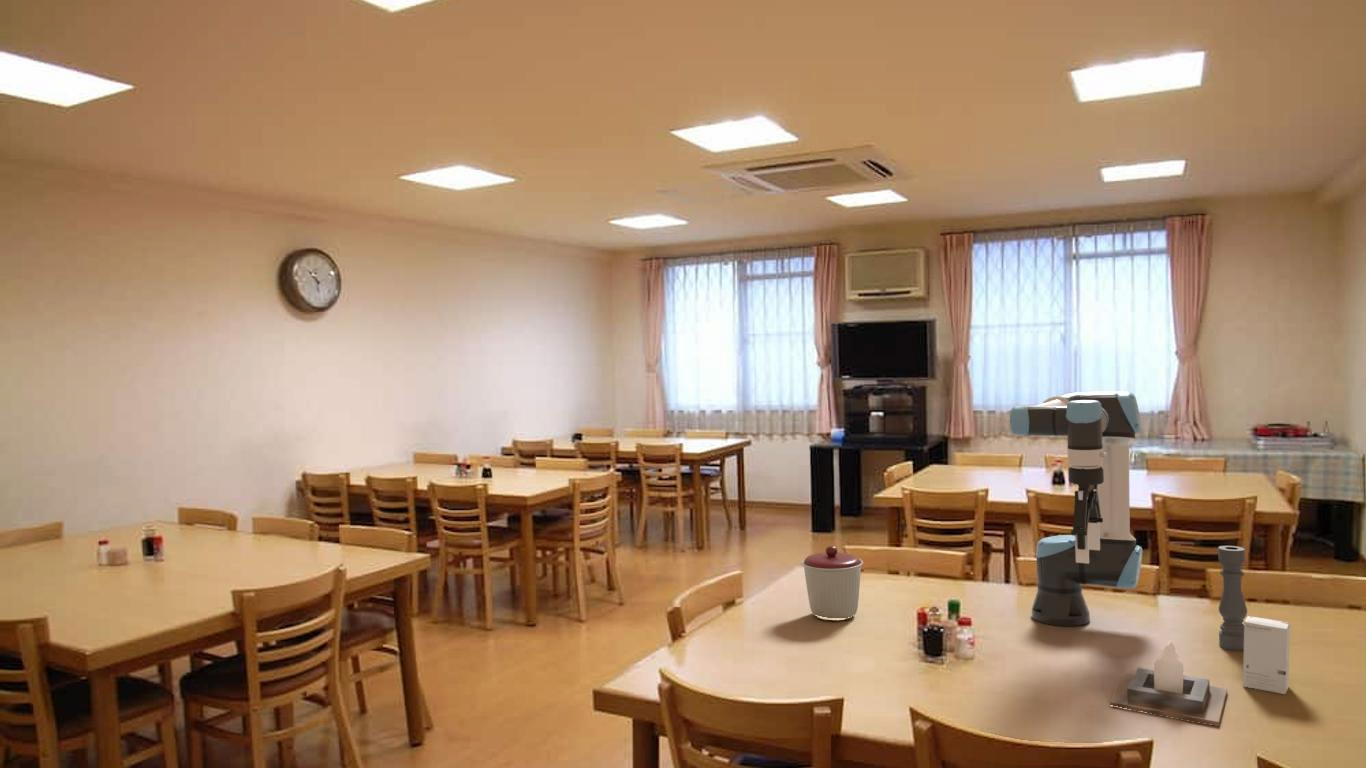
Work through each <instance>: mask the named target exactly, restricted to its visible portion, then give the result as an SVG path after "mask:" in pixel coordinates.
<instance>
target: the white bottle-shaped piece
mask: <svg viewBox="0 0 1366 768" xmlns="http://www.w3.org/2000/svg"><path fill="white" fill-rule="evenodd" d="M1153 670H1154V689H1157V690H1163V691H1169V692H1175V693H1181V694H1183V675H1184V665H1183V662H1182V660H1181V657H1180V656H1179V654H1178V653H1177V652H1176V647H1175V645H1174V643H1173V641H1171V640H1170V641H1169V642H1168V643H1166V644H1165V646H1164V647H1163V649H1161V650H1160V652H1159V653H1158V655H1157V656H1156V657H1155V660H1154V661H1153Z"/></svg>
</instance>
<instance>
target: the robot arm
mask: <svg viewBox="0 0 1366 768" xmlns="http://www.w3.org/2000/svg"><path fill="white" fill-rule="evenodd" d="M1138 405H1139V404H1138V401H1137V398H1136V396H1135V394H1134V393H1132V392H1131V391H1118V390H1117V391H1116V390H1115V391H1114V390H1113V391H1073V392H1068V393H1063V394H1059V395H1056V396H1052V397H1049V398H1047V399H1045V400H1044V401H1043V402H1042V403H1040V404H1037V405H1016V406H1013V407H1012V408H1011V410H1010V412H1009V427H1010V431H1011V433H1012V434H1013V435H1014V436H1022V437H1023V436H1024V437H1028V436H1029V437H1031V436H1033V437H1034V436H1035V437H1040V436H1042V437H1046V436H1047V437H1048V436H1049V437H1053V436H1055V437H1067V448H1066V449H1067V464H1068V465H1069V467H1068V469H1067V470H1068V471H1067V473H1068V474H1067V475H1068V476H1067V477H1068V482H1069V483H1070V484H1073V485H1077V486H1078V488H1077V490H1075V491H1074V509H1073V526H1072V530H1070V534H1063V535H1052V536H1048V537H1044V538H1041V539H1040V540H1039V541H1037V543H1036V552H1035V553H1036V554H1035V558H1036V579H1037V582H1036V583H1037V590H1036V591H1037V592H1036V594H1035V597H1034V600H1033V603H1032V607H1031V617H1032V619H1033V620H1035V621H1037V622H1040V623H1043V624H1046V625H1051V626H1060V627H1076V626H1084V625H1086V624H1088V623H1089V622H1090V618H1091V616H1090V615H1091V614H1090V610H1089V607H1088V605H1087V602H1086V600H1085V597H1084V594H1083V585H1084V586H1096V587H1104V588H1113V589H1134V588H1136V586H1137V585H1138V582H1139V578H1140V572H1141V569H1142V562H1143V548H1142V546H1141V545H1137V538H1135V536H1133V535H1132V534H1131V531H1130V530H1131V528H1130V525H1131V524H1130V523H1131V519H1130V517H1131V515H1130V507H1131V506H1130V445H1131V444H1132V443H1134V442H1135V441H1136V434H1137V435H1138V434H1140V433H1141V432H1142V426H1141V416H1140V411H1139V410H1140V409H1139V406H1138Z"/></svg>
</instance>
